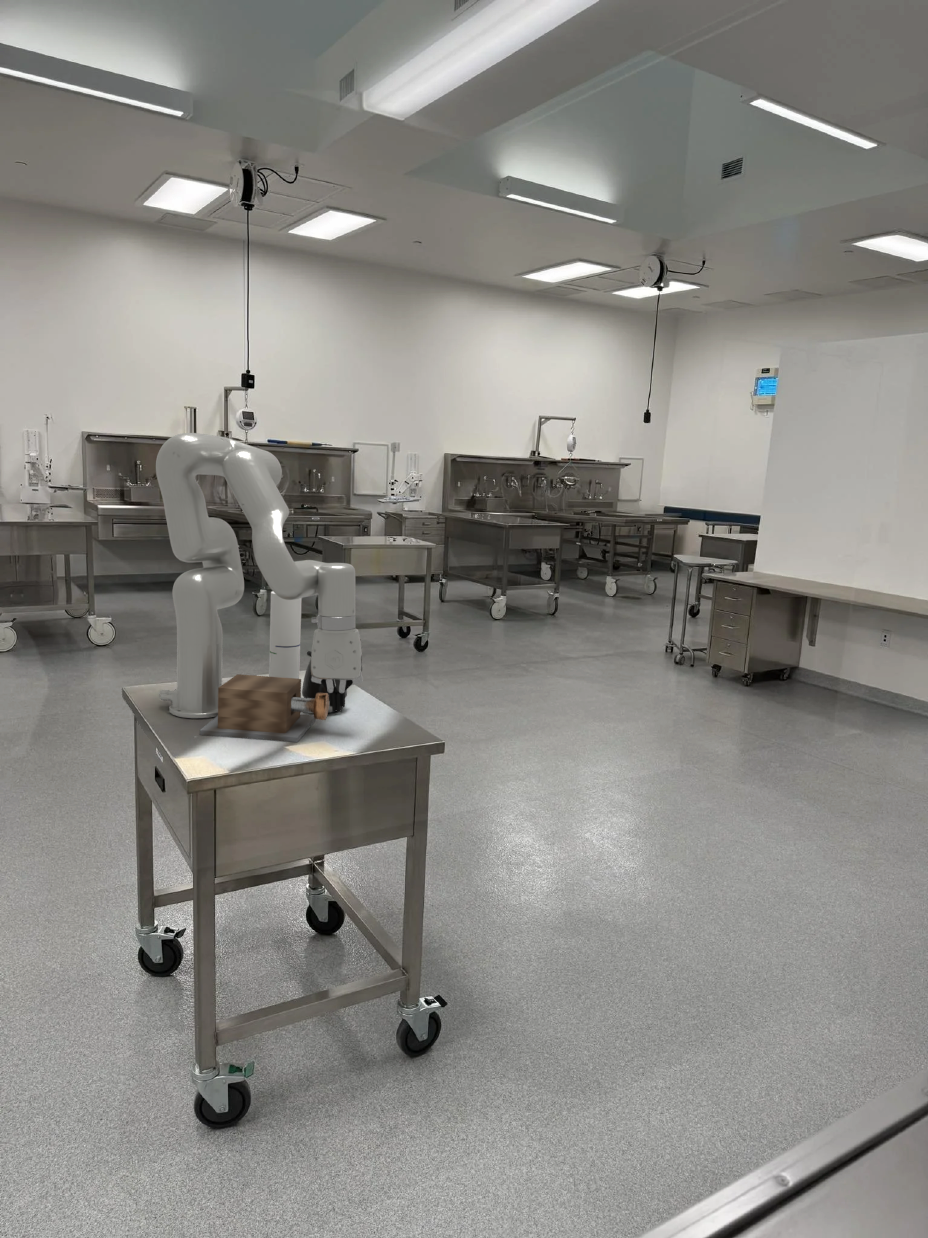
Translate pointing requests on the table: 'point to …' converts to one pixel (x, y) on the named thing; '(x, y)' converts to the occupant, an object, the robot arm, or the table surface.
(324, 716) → the shaft
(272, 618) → the cylindrical container
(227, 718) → the block
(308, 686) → the black rounded figure
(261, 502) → the robot arm
